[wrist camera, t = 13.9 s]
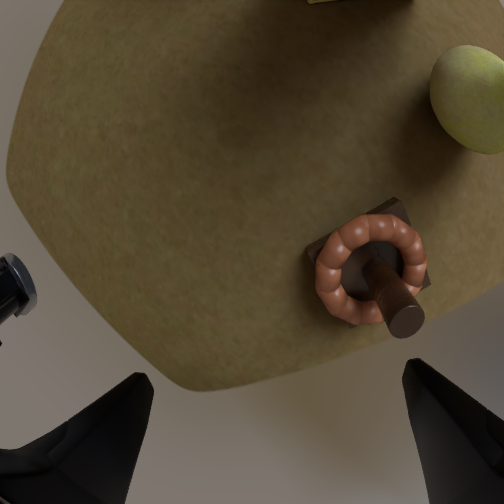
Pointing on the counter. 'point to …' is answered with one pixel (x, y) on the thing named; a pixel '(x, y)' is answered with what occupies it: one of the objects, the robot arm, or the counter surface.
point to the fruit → (470, 97)
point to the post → (380, 277)
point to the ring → (353, 238)
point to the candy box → (317, 0)
